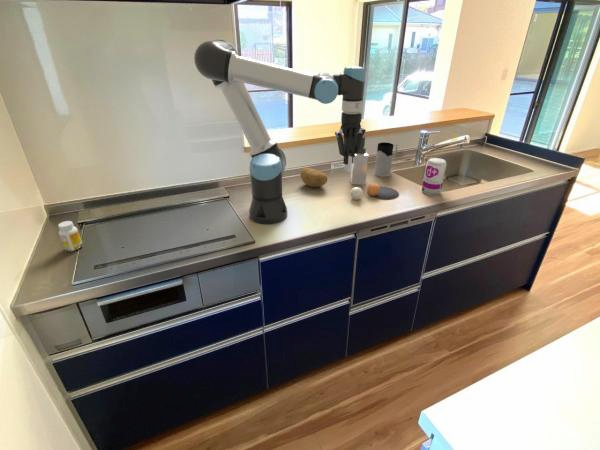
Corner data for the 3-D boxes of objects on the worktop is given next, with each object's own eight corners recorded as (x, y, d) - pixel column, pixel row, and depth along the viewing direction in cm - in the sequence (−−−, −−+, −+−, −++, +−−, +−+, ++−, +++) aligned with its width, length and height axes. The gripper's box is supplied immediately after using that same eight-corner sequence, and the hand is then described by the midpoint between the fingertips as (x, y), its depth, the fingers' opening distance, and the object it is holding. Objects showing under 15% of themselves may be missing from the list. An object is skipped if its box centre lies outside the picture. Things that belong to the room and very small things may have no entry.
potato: (319, 193, 155) (319, 177, 151) (296, 185, 163) (295, 169, 159) (332, 187, 161) (332, 171, 157) (309, 179, 170) (309, 164, 166)
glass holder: (369, 173, 177) (372, 144, 169) (387, 166, 184) (390, 139, 177) (383, 178, 171) (387, 148, 163) (400, 171, 179) (405, 142, 171)
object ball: (371, 189, 147) (381, 183, 149) (363, 185, 152) (373, 179, 153) (373, 199, 151) (383, 193, 152) (365, 195, 155) (375, 189, 156)
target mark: (380, 202, 147) (380, 201, 147) (361, 190, 158) (361, 189, 158) (405, 195, 152) (405, 195, 152) (385, 184, 163) (385, 184, 163)
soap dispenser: (363, 177, 171) (367, 133, 160) (365, 184, 164) (369, 138, 153) (350, 177, 172) (353, 133, 161) (351, 184, 164) (355, 138, 153)
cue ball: (362, 186, 145) (367, 195, 148) (354, 183, 149) (359, 191, 153) (353, 195, 144) (358, 203, 147) (345, 191, 149) (350, 200, 152)
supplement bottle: (64, 254, 114) (54, 229, 110) (66, 245, 119) (56, 221, 114) (82, 250, 116) (73, 225, 111) (84, 242, 121) (75, 218, 116)
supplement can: (433, 197, 151) (440, 164, 144) (417, 191, 157) (423, 159, 149) (444, 192, 155) (451, 160, 148) (428, 186, 161) (434, 156, 153)
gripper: (342, 115, 123) (339, 177, 135) (372, 112, 128) (366, 171, 140) (331, 111, 129) (329, 171, 141) (360, 108, 134) (355, 165, 146)
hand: (347, 171), depth 141 cm, fingers closed
